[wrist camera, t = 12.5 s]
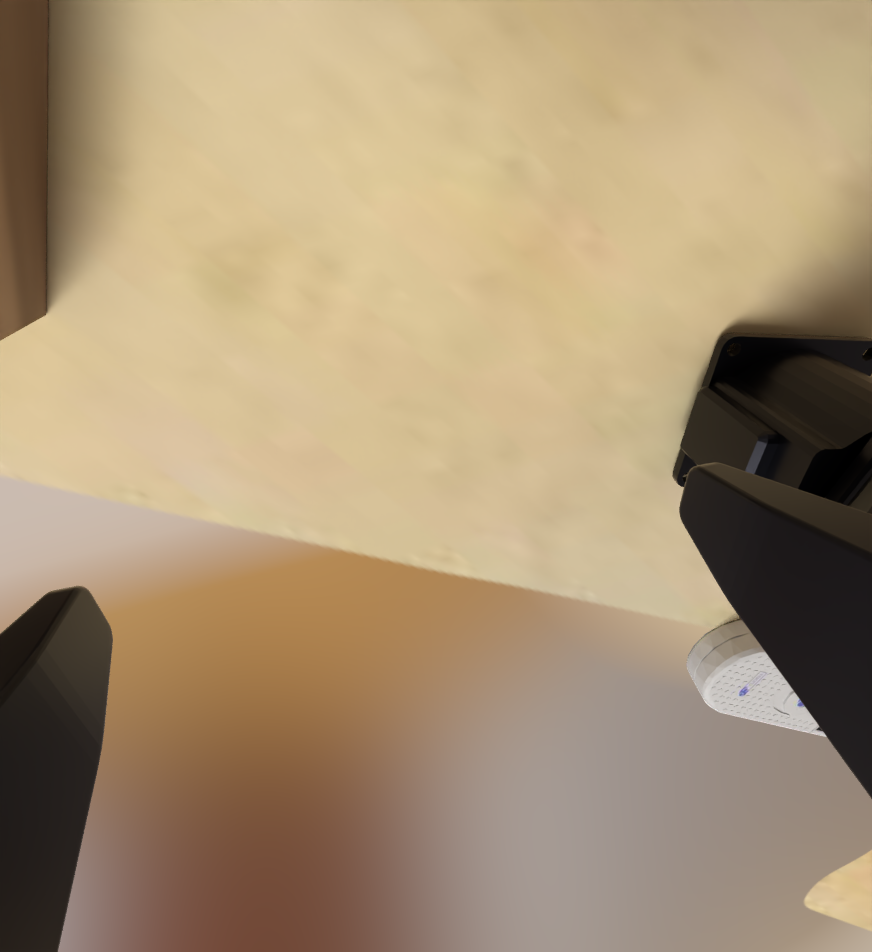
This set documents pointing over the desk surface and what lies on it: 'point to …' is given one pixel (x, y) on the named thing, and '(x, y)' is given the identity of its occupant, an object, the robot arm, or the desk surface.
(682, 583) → the desk surface
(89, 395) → the desk surface
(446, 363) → the desk surface
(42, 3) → the hitch block
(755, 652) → the electronic device
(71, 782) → the robot arm
